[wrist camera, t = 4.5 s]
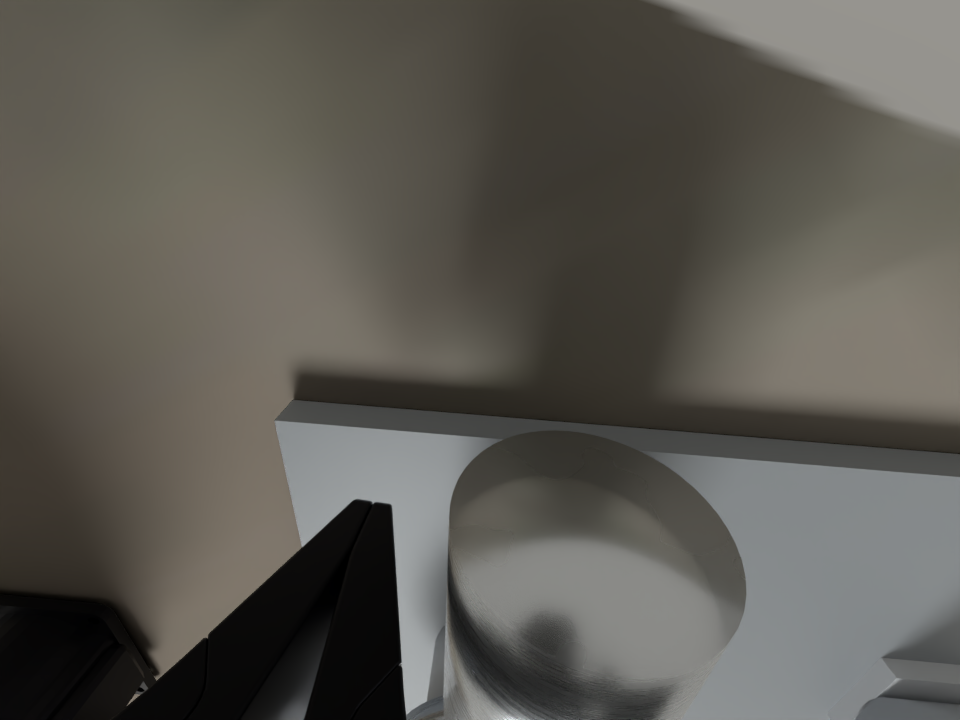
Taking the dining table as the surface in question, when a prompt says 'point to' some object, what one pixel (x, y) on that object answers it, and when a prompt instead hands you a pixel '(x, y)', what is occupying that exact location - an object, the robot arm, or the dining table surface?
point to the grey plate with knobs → (752, 524)
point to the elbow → (581, 585)
